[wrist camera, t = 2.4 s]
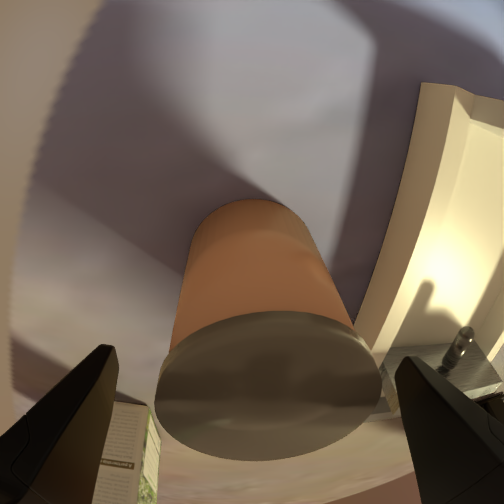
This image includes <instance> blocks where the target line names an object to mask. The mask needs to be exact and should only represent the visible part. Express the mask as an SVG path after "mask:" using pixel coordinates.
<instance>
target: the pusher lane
mask: <svg viewBox="0 0 504 504" xmlns="http://www.w3.org/2000/svg"><path fill="white" fill-rule="evenodd" d="M464 326H470V327H472V328H473V330H474V333H475V336H474V339H473V340H475V341H476V343H477V344H478V346H479V347H480V349H481V350H482V351H483V353H484V354H485V356H486V357H487V359H488V360H489V362H491V361H492V359H493V358H494V357H495V355H496V354H497V352H498V351H499V349H500V348H501V346H502V344H503V343H504V101H503V100H499V99H494V98H489V97H484V96H479V95H474V94H472V93H470V92H468V91H466V90H464V89H462V88H460V87H458V86H453V85H445V84H436V83H425V82H421V88H420V94H419V100H418V106H417V111H416V116H415V121H414V126H413V131H412V136H411V141H410V145H409V150H408V154H407V158H406V162H405V167H404V171H403V175H402V179H401V183H400V186H399V190H398V194H397V198H396V201H395V205H394V208H393V212H392V215H391V219H390V222H389V225H388V229H387V232H386V235H385V238H384V242H383V245H382V248H381V251H380V254H379V257H378V260H377V263H376V266H375V269H374V272H373V275H372V278H371V280H370V283H369V286H368V289H367V292H366V294H365V297H364V300H363V302H362V305H361V308H360V310H359V313H358V315H357V318H356V320H355V323H354V326H353V327H354V329H355V331H356V332H357V333H358V334H359V335H360V336H361V337H362V338H363V339H364V341H365V342H366V344H367V346H368V347H369V349H370V351H371V354H372V356H373V358H374V360H375V363H376V365H377V367H378V369H379V367H380V365H381V363H382V362H383V360H384V358H385V356H386V354H387V352H388V350H389V348H390V347H405V346H420V345H433V344H444V343H452V342H453V340H454V339H455V337H456V335H457V334H458V332H459V330H460V329H461V328H462V327H464ZM398 417H401V415H394V416H393V415H392V412H391V410H390V407H389V405H388V402H387V400H386V397H385V395H384V392H383V390H382V391H381V396H380V399H379V401H378V404H377V405H376V407H375V409H374V410H373V412H372V413H371V414H370V416H369V417H368V418H367V419H366V420H365V421H364V422H363V423H365V422H372V421H379V420H386V419H392V418H398Z"/></svg>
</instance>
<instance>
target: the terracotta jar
mask: <svg viewBox="0 0 504 504" xmlns="http://www.w3.org/2000/svg"><path fill="white" fill-rule="evenodd" d="M381 391H382V378H381V375H380V372H379V370H378V367H377V365H376V363H375V360H374V358H373V356H372V354H371V351H370V349H369V347H368V346H367V344H366V342H365V341H364V339H363V338H362V337H361V336H360V335H359V334H358V333H357V332H356V331H355V329H354V327H353V325H352V322H351V320H350V318H349V316H348V313H347V311H346V309H345V307H344V304H343V302H342V300H341V298H340V295H339V293H338V291H337V289H336V287H335V285H334V282H333V280H332V278H331V276H330V274H329V272H328V270H327V267H326V265H325V263H324V261H323V259H322V257H321V255H320V253H319V251H318V249H317V246H316V244H315V242H314V240H313V238H312V236H311V234H310V232H309V230H308V228H307V227H306V225H305V224H304V222H303V221H302V220H301V219H300V217H299V216H298V215H296V214H295V213H294V212H293V211H291V210H290V209H288V208H287V207H285V206H283V205H281V204H278V203H275V202H272V201H268V200H262V199H245V200H239V201H235V202H232V203H229V204H226V205H224V206H222V207H220V208H218V209H217V210H215V211H214V212H212V213H211V214H210V215H209V216H207V217H206V218H205V219H204V220H203V222H202V223H201V224H200V225H199V227H198V228H197V230H196V232H195V234H194V236H193V239H192V242H191V246H190V250H189V255H188V259H187V264H186V268H185V273H184V278H183V282H182V287H181V292H180V297H179V302H178V307H177V312H176V317H175V322H174V327H173V333H172V338H171V343H170V349H169V354H168V355H167V357H166V358H165V360H164V362H163V364H162V366H161V369H160V373H159V378H158V384H157V390H156V395H155V401H154V405H155V412H156V416H157V418H158V420H159V422H160V424H161V425H162V427H163V428H164V429H165V430H166V431H167V432H168V433H169V434H170V435H171V436H172V437H173V438H175V439H176V440H178V441H179V442H180V443H182V444H184V445H186V446H188V447H189V448H192V449H194V450H196V451H199V452H201V453H205V454H208V455H211V456H215V457H219V458H225V459H231V460H241V461H269V460H278V459H285V458H290V457H295V456H299V455H303V454H307V453H310V452H313V451H316V450H318V449H321V448H324V447H326V446H328V445H330V444H332V443H335V442H336V441H338V440H340V439H342V438H343V437H345V436H347V435H348V434H350V433H351V432H352V431H354V430H355V429H356V428H357V427H359V426H360V425H361V424H362V423H363V422H364V421H365V420H366V419H367V418H368V417H369V416H370V414H371V413H372V412H373V410H374V409H375V407H376V405H377V404H378V401H379V399H380V396H381Z"/></svg>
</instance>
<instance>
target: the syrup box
mask: <svg viewBox="0 0 504 504" xmlns="http://www.w3.org/2000/svg"><path fill="white" fill-rule="evenodd" d="M161 443H162V442H161V439H160V436H159V433H158V431H157V428H156V426H155V423H154V420H153V417H152V414H151V411H150V409H149V407H148V406H144V405H137V404H131V403H124V402H116V401H114V405H113V412H112V417H111V421H110V425H109V429H108V433H107V437H106V441H105V445H104V449H103V454H102V458H101V462H100V467H99V471H98V476H97V480H96V485H95V490H94V495H93V500H92V504H156V501H157V488H158V475H159V463H160V452H161Z"/></svg>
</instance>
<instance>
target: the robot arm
mask: <svg viewBox="0 0 504 504" xmlns="http://www.w3.org/2000/svg"><path fill="white" fill-rule="evenodd" d="M118 373H119V363H118V359H117V354H116V350H115V347H114V346H112V345H106V344H101V345H99V346H98V347H97V348H96V349H94V350H93V351H92V352H91V353H90V354H89V355H88V356H87V357H86V358H85V359H83V360H82V361H81V362H80V363H79V364H78V365H77V366H76V367H75V368H74V369H73V370H71V371H70V372H69V373H68V374H67V375H66V376H65V377H64V378H63V379H62V380H61V381H60V382H59V383H57V384H56V385H55V386H54V387H53V388H52V389H51V390H50V391H49V392H48V393H47V394H46V395H45V396H44V397H43V398H41V399H40V400H39V401H38V402H37V403H36V404H35V405H34V406H33V407H32V408H31V409H30V410H29V411H28V412H27V413H26V415H23V416H22V417H21V418H20V419H19V420H18V421H17V422H16V423H15V424H14V425H13V426H12V427H11V428H10V429H9V430H7V431H6V432H5V433H4V434H3V435H2V436H0V504H92V500H93V495H94V490H95V485H96V480H97V476H98V471H99V467H100V462H101V458H102V454H103V449H104V445H105V441H106V437H107V433H108V429H109V425H110V421H111V417H112V412H113V405H114V398H115V391H116V385H117V379H118ZM394 379H395V385H396V390H397V396H398V401H399V407H400V413H401V418H402V422H403V426H404V429H405V433H406V437H407V441H408V445H409V449H410V453H411V457H412V461H413V465H414V470H415V474H416V479H417V483H418V487H419V492H420V497H421V503H422V504H504V402H503V401H504V394H503V395H500V396H497V397H494V398H490V399H487V400H484V401H481V402H477V403H475V402H474V401H473V400H471V399H470V398H469V397H468V396H467V395H465V394H464V393H463V392H462V391H460V390H459V389H458V388H457V387H455V386H454V385H453V384H452V383H450V382H449V381H448V380H447V379H445V378H444V377H443V376H442V375H440V374H439V373H438V372H437V371H435V370H434V369H433V368H432V367H430V366H429V365H428V364H427V363H425V362H424V361H423V360H422V359H420V358H419V357H418V356H416V355H409V356H405V357H404V358H403V359H402V361H401V363H400V365H399V366H398V368H397V370H396V371H395V375H394Z"/></svg>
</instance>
